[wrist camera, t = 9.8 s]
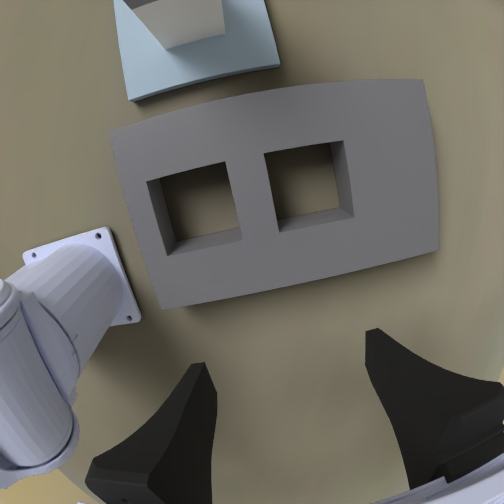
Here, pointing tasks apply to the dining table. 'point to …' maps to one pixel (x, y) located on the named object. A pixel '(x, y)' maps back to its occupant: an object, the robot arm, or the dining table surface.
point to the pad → (194, 50)
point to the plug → (180, 19)
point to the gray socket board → (259, 192)
